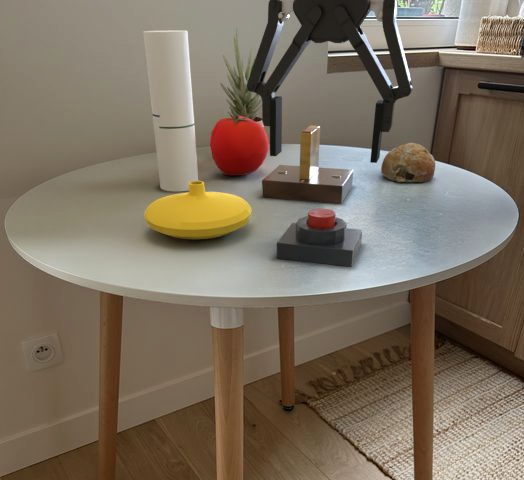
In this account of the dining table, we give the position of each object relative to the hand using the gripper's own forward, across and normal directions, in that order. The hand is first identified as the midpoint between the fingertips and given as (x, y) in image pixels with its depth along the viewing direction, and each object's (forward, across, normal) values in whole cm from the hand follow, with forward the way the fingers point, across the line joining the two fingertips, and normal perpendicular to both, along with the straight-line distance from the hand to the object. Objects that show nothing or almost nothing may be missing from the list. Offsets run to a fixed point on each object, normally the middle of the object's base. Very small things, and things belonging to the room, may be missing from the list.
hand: (324, 157), depth 67 cm
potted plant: (+13, -29, +52) cm, 61 cm away
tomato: (+13, -24, +35) cm, 44 cm away
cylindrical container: (+13, -32, +24) cm, 42 cm away
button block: (+12, 0, 0) cm, 12 cm away
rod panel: (+12, -8, +27) cm, 31 cm away
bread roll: (+12, +8, +42) cm, 44 cm away
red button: (+9, 0, 0) cm, 9 cm away
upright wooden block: (+9, -8, +27) cm, 29 cm away
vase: (+13, -19, +3) cm, 23 cm away
